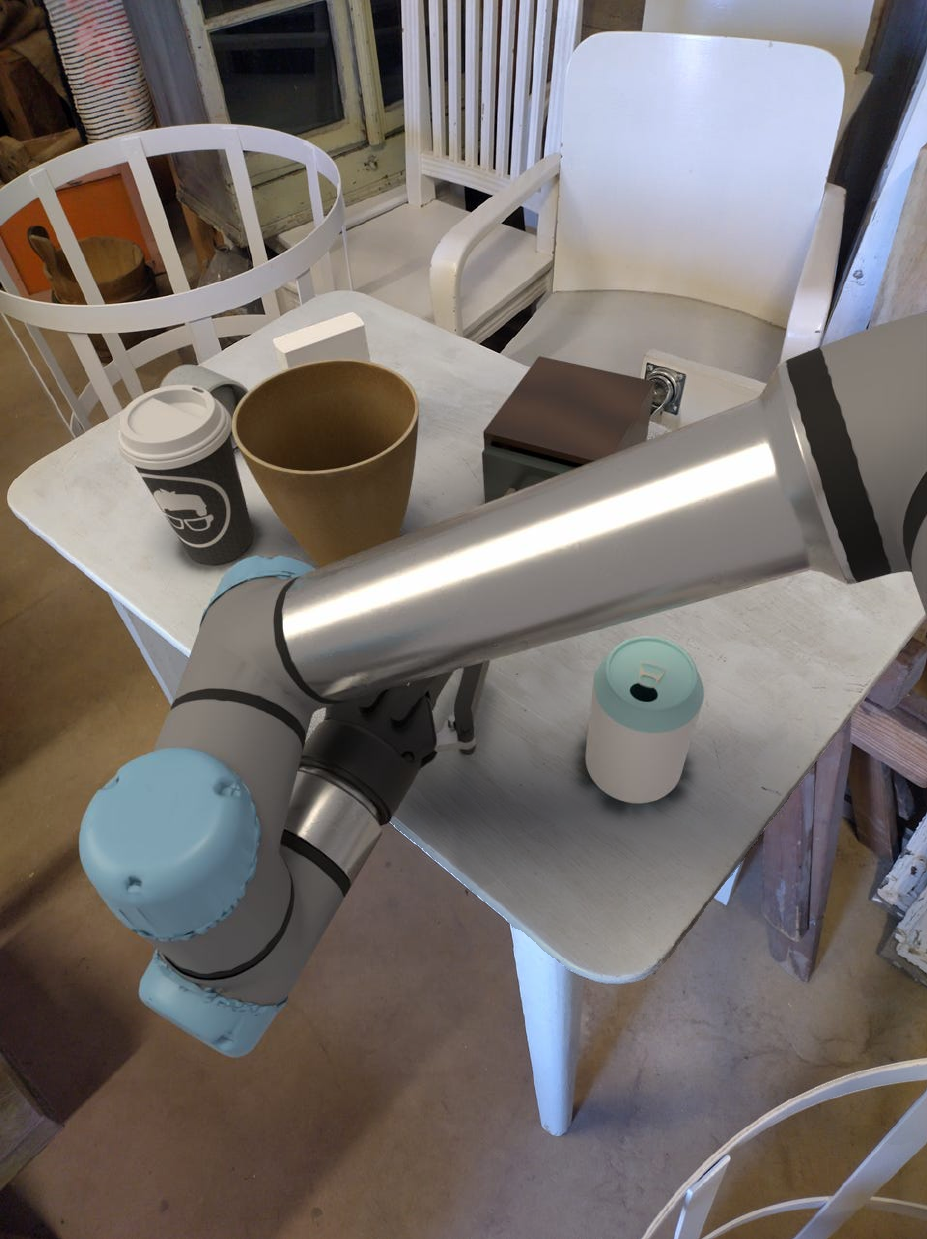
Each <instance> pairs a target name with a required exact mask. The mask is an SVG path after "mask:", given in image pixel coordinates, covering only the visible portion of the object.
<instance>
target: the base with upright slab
mask: <svg viewBox="0 0 927 1239" xmlns="http://www.w3.org/2000/svg"><path fill="white" fill-rule="evenodd" d="M367 339H368V338H367V334H366V327H365V322H364V321H363V319H362V317H361V316H359V315H358V314H356V313H355V312H352V311H349V312H347V313H343V314H341V315H338V316H335V317H332V318H329V319H327V320H324V321H321V322H317V323H315V324H312V325H309V326H306V327H303V328H301V329H298V330H295V331H291V332H289V333H286V334H284V335H280V336H278V337H275V338H273V339H272V342H273V346H274V349H275V354H276V357H277V361H278V365H279V368H280V372H281V371H283V370H285V369H288V368H291V367H294V366H297V365H301V364H306V363H310V362H316V361H322V360H333V359H353V360H361V361H366V362H371V357H370V350H369V346H368V340H367Z"/></svg>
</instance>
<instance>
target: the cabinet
mask: <svg viewBox="0 0 927 1239" xmlns="http://www.w3.org/2000/svg"><path fill="white" fill-rule="evenodd" d="M655 384H656V382H655V381H654V380H650V379H646V378H641V377H636V376H631V375H627V374H623V373H617V372H613V371H609V370H604V369H600V368H595V367H590V366H586V365H581V364H577V363H572V362H569V361H563V360H557V359H554V358H550V357H544V356H540V355H539V356H537V358H536V359H535V361H534V362H533V363H532V365H531V366H530V367H529V369H528V370H527V371H526V373H525V374H524V375H523V377H522V379H521V380H520V381H519V382H518V384H517V385H516V386H515V387H514V389H513V391H512V392H511V393H510V394H509V396H508V397H507V398H506V400H505V402H504V403H503V404H502V405H501V406H500V408H499V409H498V411H497V412H496V414H494V416H493V418H492V419H491V420H490V422H489V423H488V424H487V426H486V427H485V428H484V430H483V432H482V433H483V434H482V436H483V437H482V438H483V450H484V449H485V448H486V446H487V445H490V446H494V447H497V448H501V443H502V444H506V445H510V446H514V447H518V448H522V449H526V450H529V451H533V452H537V453H541V454H545V455H549V456H552V457H556V458H560V459H564V460H568V461H572V462H575V463H579V464H583V465H586V464H589V463H591V462H594V461H596V460H599V459H601V458H604V457H607V456H609V455H612V454H614V453H617V452H619V451H622V450H625V449H627V448H630V447H632V446H635V445H637V444H640V443H643V442H645V441H648V434H649V428H650V427H649V426H650V420H651V412H652V405H653V398H654V390H655Z"/></svg>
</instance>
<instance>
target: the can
mask: <svg viewBox="0 0 927 1239" xmlns="http://www.w3.org/2000/svg"><path fill="white" fill-rule="evenodd" d="M593 676H594V677H593V683H592V692H591V700H590V701H591V702H590V711H589V719H588V729H587V738H586V748H585V765H586V769H587V772H588V775H589V776H590V778H591V780H592V781H593V782H594V784H595V785H596V786H597V787H598V788H599V789H600V790H601V791H603V792H604V794H606V795H608V796H610V797H612V798H614V799H616V800H618V801H622V802H625V803H629V804H630V803H631V804H647V803H648V804H649V803H652V802H655V801H659V800H661V799H662V798H664V797H666V796H667V795H668V794H670V793H671V792H672V791H673V790H674V789H675V788H676V786H677V785H678V783H679V781H680V779H681V777H682V773H683V769H684V766H685V762H686V759H687V756H688V753H689V750H690V749H689V748H690V746H691V744H692V739H693V736H694V732H695V730H696V725H697V722H698V719H699V716H700V712H701V709H702V705H703V702H704V697H705V691H704V690H705V688H704V684H703V680H702V677H701V675H700V672H699V671H698V668H697V665H696V663H695V661H694V659H693V658H692V656H691V655H690V654H689V652H687V651H686V650H685V649H684V648H683V647H682V646H681V645H678V644H677V643H675V642H673V641H671V640H669V639H667V638H663V637H659V636H653V635H643V636H642V635H640V636H634V637H630V638H628V639H625V640H624V641H622V642H620V643H618V644H617V645H616V646H615V647H614V648H613V649H612V650H611V651H610V652H609V653H608V654H607V655H605V657H604V658H603V659H602V660H601V662H600V663H599V664H598V666H597V668H596V670H595V672H594V675H593Z"/></svg>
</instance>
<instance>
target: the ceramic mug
mask: <svg viewBox="0 0 927 1239" xmlns="http://www.w3.org/2000/svg"><path fill="white" fill-rule="evenodd" d="M171 385H192V386H197V387H200V388H202V389H204V390H206V391H208V392H209V393H210V394H211V395H212V396H213V398H215V399H217V400H218V401H219V402H220V403H221V404H222V405H223V406H224V407H225V409H226V410H227V411H228V413H229V414H230V416H231V419H233V415H234V412H235V409H236V407H237V406H238V404H239V402H240V401H241V399H242V398H243V397H244V396H245V395H246V394H247V393H248V392H249V391H250V390H249V389H248V388H247V387H246V386H245V385H243V384H242V383H240V382H239V381H237V380H235V379H232V378H229V377H228V376H225V375H223V374H221V373H218V372H217V371H213V370H211V369H209V368H206V367H204V366H202V365H195V364H182V365H179V366H176V367H174V368H172V369H171V370H170V371H168V373H166V374H165V375H164V377H163V379H162V380H161V382H160V385H159V387H158V388H161V387H165V386H171ZM230 438H231V443H232V447H233V450H234V449H237V448H238V446H237V444H236V441H235V439H234V436H233V433H232V428H231V432H230Z"/></svg>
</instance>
